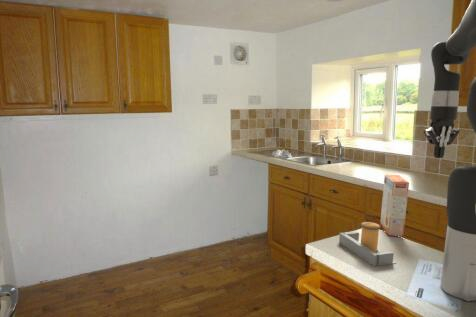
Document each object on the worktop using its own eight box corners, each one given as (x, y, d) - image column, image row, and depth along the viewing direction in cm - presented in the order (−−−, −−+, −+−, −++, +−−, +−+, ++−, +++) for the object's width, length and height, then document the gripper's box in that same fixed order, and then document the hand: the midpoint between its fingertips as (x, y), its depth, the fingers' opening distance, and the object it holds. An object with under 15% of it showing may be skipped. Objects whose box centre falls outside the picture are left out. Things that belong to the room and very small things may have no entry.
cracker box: (404, 237, 126) (409, 182, 123) (387, 236, 127) (392, 181, 124) (395, 224, 140) (400, 174, 136) (379, 223, 141) (384, 173, 138)
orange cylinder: (382, 253, 111) (384, 227, 110) (366, 255, 110) (368, 228, 108) (370, 246, 117) (372, 221, 115) (355, 248, 115) (357, 222, 114)
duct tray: (396, 263, 105) (397, 252, 105) (373, 266, 103) (374, 255, 102) (358, 240, 123) (359, 230, 122) (339, 242, 120) (339, 232, 120)
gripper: (437, 105, 106) (432, 160, 109) (470, 105, 110) (464, 159, 112) (418, 104, 113) (413, 156, 116) (450, 105, 117) (444, 155, 119)
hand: (438, 157), depth 114 cm, fingers closed
